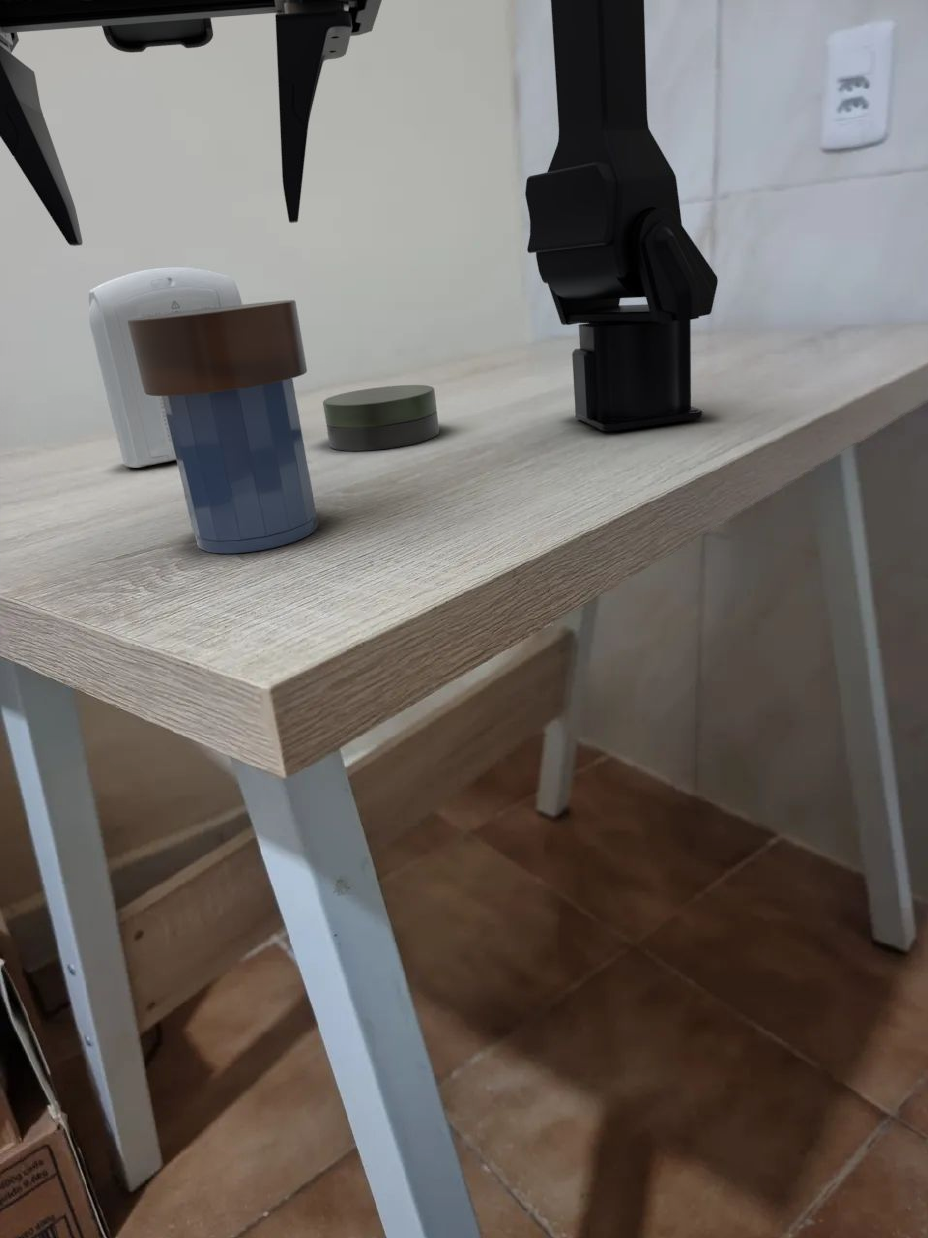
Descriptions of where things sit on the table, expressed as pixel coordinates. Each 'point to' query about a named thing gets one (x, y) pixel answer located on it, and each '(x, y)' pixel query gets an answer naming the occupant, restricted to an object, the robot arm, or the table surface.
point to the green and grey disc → (381, 417)
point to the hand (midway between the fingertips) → (186, 233)
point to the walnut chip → (218, 348)
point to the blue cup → (243, 467)
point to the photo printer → (108, 316)
